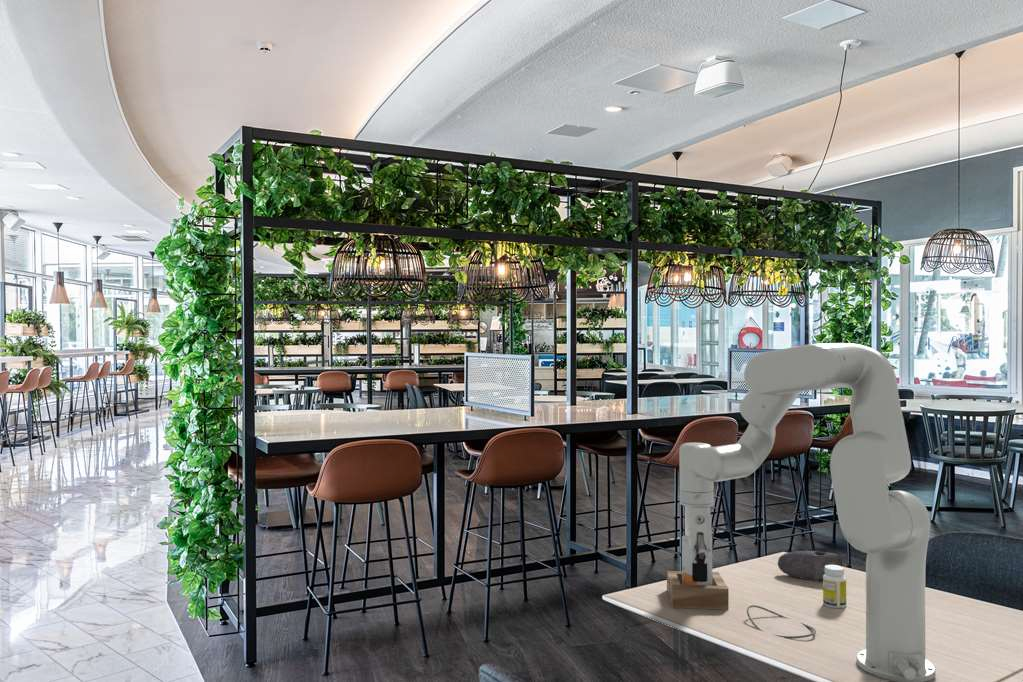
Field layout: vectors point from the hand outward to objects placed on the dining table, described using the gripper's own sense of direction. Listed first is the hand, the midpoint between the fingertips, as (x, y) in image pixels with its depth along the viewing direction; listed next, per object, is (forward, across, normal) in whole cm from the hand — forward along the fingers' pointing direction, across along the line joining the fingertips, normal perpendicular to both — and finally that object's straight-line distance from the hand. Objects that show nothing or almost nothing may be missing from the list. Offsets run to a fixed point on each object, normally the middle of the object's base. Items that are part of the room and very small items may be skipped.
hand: (697, 575), depth 173 cm
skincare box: (+4, 0, 0) cm, 4 cm away
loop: (+6, -15, -15) cm, 22 cm away
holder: (+5, 0, 0) cm, 5 cm away
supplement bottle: (+6, -1, -30) cm, 30 cm away
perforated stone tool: (+6, +18, -30) cm, 35 cm away
